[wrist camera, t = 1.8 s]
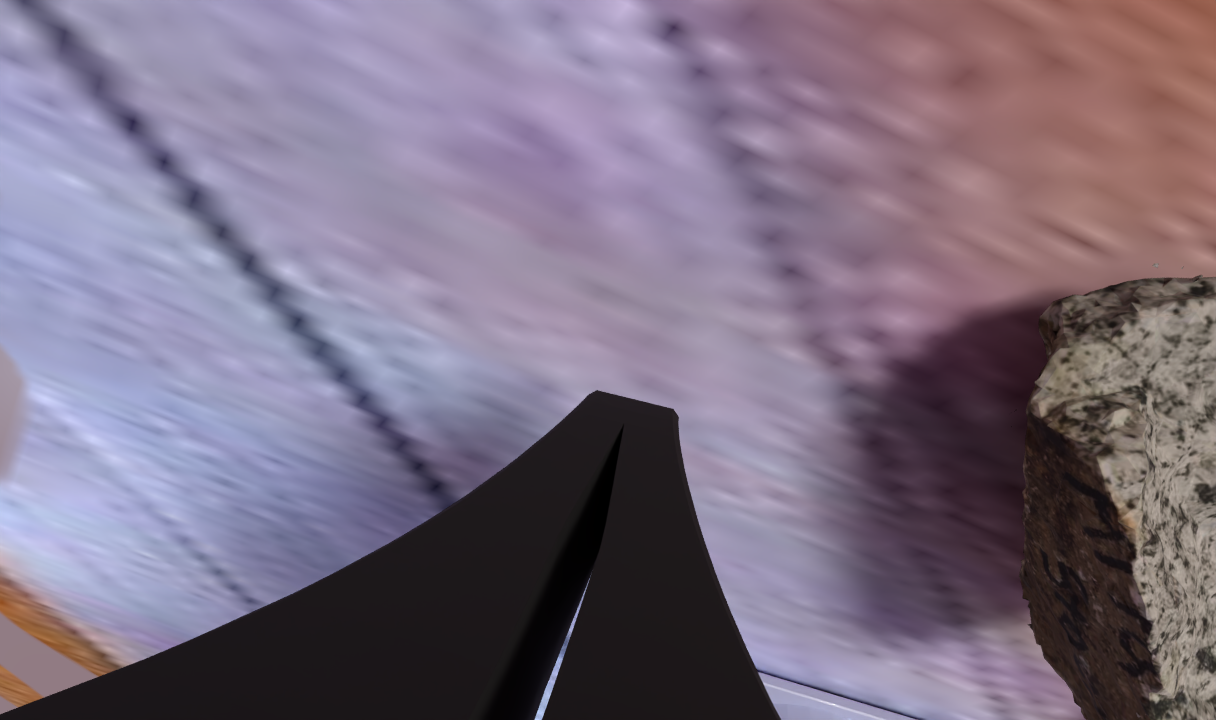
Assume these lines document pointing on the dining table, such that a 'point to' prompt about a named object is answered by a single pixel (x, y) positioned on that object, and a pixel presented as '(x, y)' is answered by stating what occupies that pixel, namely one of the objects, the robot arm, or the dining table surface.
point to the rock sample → (1126, 499)
